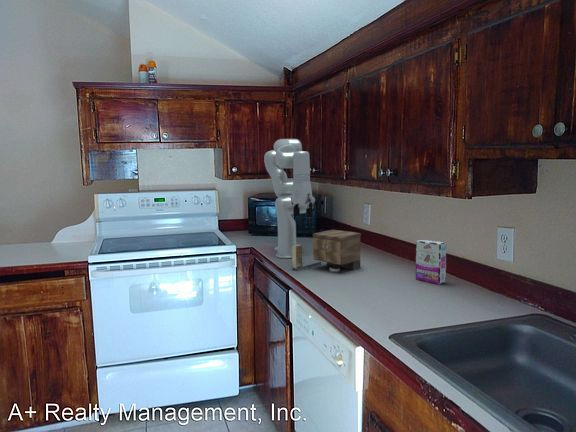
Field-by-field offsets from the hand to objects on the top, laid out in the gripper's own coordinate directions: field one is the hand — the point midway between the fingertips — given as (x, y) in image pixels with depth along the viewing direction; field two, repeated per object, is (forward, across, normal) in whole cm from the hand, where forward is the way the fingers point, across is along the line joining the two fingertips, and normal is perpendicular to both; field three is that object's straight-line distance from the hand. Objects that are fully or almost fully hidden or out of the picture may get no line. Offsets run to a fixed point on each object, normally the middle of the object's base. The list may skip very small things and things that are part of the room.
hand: (302, 216), depth 196 cm
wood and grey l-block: (+24, -2, +3) cm, 25 cm away
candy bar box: (+26, +49, +27) cm, 61 cm away
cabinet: (+24, +8, +12) cm, 29 cm away
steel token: (+25, +11, +9) cm, 29 cm away
